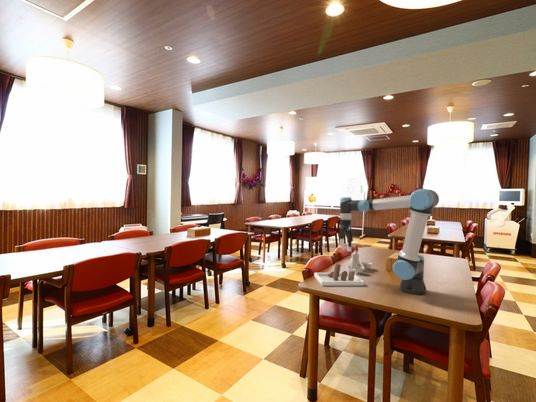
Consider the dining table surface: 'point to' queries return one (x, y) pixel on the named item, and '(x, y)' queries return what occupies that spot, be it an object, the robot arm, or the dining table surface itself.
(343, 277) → the wooden block set
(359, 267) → the chinaware
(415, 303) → the dining table surface
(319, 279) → the pocket tray
